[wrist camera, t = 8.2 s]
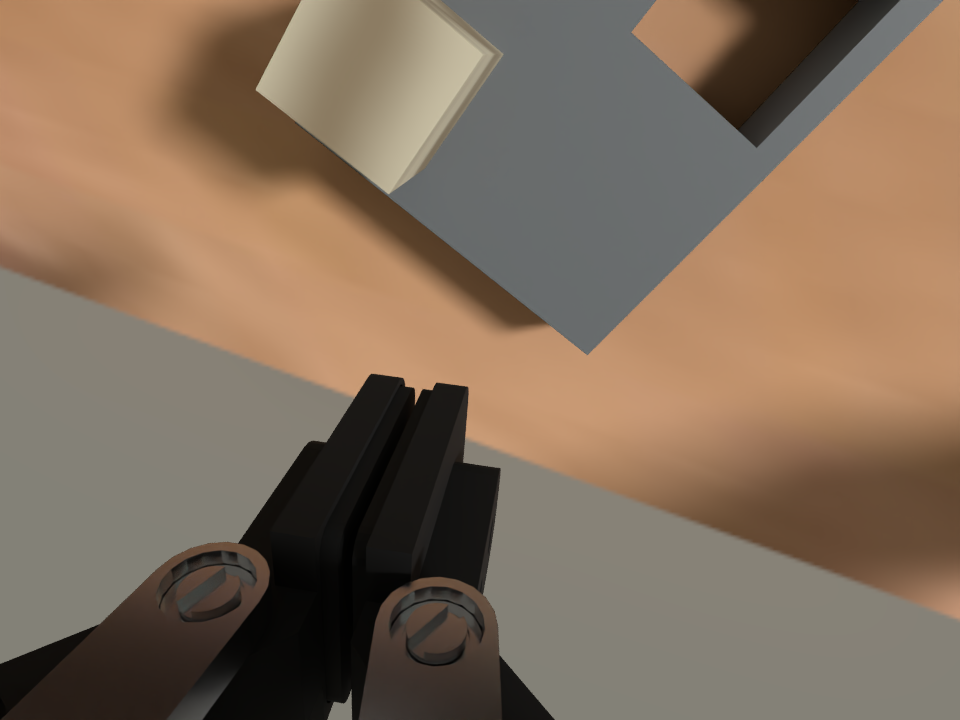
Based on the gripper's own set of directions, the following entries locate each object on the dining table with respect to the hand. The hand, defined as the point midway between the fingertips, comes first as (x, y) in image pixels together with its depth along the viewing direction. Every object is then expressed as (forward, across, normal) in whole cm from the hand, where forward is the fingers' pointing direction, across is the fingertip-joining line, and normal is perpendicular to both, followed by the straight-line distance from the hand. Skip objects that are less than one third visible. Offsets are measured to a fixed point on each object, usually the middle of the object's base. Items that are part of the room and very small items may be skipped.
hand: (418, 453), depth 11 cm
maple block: (+16, +4, -5) cm, 17 cm away
